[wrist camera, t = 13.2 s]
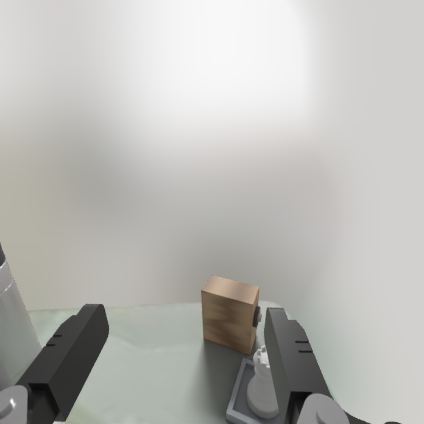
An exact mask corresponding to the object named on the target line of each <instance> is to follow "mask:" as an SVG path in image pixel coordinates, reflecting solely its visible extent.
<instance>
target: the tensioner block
mask: <svg viewBox="0 0 424 424" xmlns="http://www.w3.org/2000/svg"><path fill="white" fill-rule="evenodd" d="M201 293H202V294H201V295H202V317H203V338H204V339H206V340H209V341H212V342H214V343H217V344H220V345H223V346H225V347H228V348H231V349H234V350H236V351H239V352H242V353H245V354H247V355H251V351H252V348H253V344H254V341H255V337H256V329H257V326H258V322H261V317H262V314H261V313H260V307H259V306H258V297H259V287H258V286H254V285H250V284H246V283H241V282H237V281H233V280H229V279H225V278H221V277H217V276H213V275H211V277H210V278H209V280H208V281H207V283H206V284H205V286H204V287H203V288H202V290H201Z"/></svg>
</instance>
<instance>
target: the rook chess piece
mask: <svg viewBox="0 0 424 424" xmlns="http://www.w3.org/2000/svg"><path fill="white" fill-rule="evenodd" d="M253 363H254V365H255V368H254V371H255V373H256V374H255V376H254V377H253V378H252V379H251V380H250V382H249V384H248V386H247V393H246V399H247V402H248V405H249V407H250V408H251V410H252V411H253V412H254V413H255V414H256V415H258V416H259V417H261V418H266V419H270V418H274V417H275V416H277V415H278V414H279V409H278V404H277V399H276V394H275V389H274V385H273V380H272V375H271V370H270V365H269V360H268V355H267V350H266V346H261V349H259V348H258V350H257V351H256V352H255V354H254V356H253Z"/></svg>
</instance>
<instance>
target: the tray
mask: <svg viewBox="0 0 424 424" xmlns="http://www.w3.org/2000/svg"><path fill="white" fill-rule="evenodd" d="M254 368H255V365H254V363H253V361H251V360H249V359H246V358H243V359H242V362H241V366H240V369H239V372H238V376H237V379H236V382H235V385H234V389H233V392H232V395H231V398H230V402H229V405H228V408H227V411H226V421H228V422H230V423H232V424H282V423H281V419H280V414H278V415H277V416H275V417H274V418H270V419H266V418H261V417H259V416H258V415H256V414H255V413H254V412H253V411H252V410H251V408H250V407H249V405H248V402H247V399H246V393H247V386H248V384H249V382H250V380H251V379H252V378H253V377H254V376H255V374H256V373H255V371H254Z"/></svg>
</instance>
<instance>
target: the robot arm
mask: <svg viewBox="0 0 424 424" xmlns="http://www.w3.org/2000/svg"><path fill="white" fill-rule="evenodd" d="M108 334H109V325H108V321H107V317H106V313H105V309H104V306H103V305H102V304H85V305H84V306H83V307H82V309H81V310H80V311H79V313H78V314H77V315H72V316H71V317H70V318H69V319H67V320H66V321H65V322H64V323H62V324H61V325H60V327H59V328H58V329H57V331H56V332H55V333H54V335H53V337H51V338H50V340H49V341H48V342H47V344H46V346H44V348H43V349H42V348H41V345H40V343H39V340H38V338H37V335H36V333H35V330H34V327H33V325H32V322H31V320H30V317H29V315H28V312H27V310H26V308H25V305H24V302H23V300H22V298H21V295H20V293H19V290H18V288H17V285H16V282H15V280H14V278H13V275H12V273H11V271H10V268H9V265H8V263H7V261H6V258H5V255H4V253H3V250H2V247H1V244H0V424H53V422H54V421H62V422H65V421H66V419H67V417H68V415H69V413H70V411H71V409H72V407H73V405H74V403H75V401H76V399H77V397H78V395H79V393H80V391H81V390H82V388H83V386H84V384H85V382H86V380H87V378H88V376H89V374H90V372H91V370H92V368H93V366H94V364H95V362H96V360H97V358H98V356H99V354H100V352H101V350H102V348H103V346H104V344H105V342H106V340H107V338H108ZM264 338H265V346H266V350H267V355H268V360H269V365H270V370H271V375H272V380H273V385H274V389H275V394H276V399H277V404H278V409H279V414H280V419H281V423H282V424H370V423H367V422H365V421H362V420H360V419H357V418H355V417H353V416H351V415H350V414H348V413H347V412H345V411H344V410H343V409H342V408H341V407H340V405H339V404H338V403H337V402H335V400H334V399H333V398H332V396H331V394H330V392H329V390H328V387H327V385H326V382H325V380H324V378H323V375H322V373H321V370H320V368H319V365H318V363H317V360H316V358H315V355H314V354H313V350H312V348H311V345H310V343H309V340H308V338H307V336H306V333H305V331H304V329H303V328H302V327H301V326H300V324H299V323H298V322H297V321H296V320H288V319H287V316H286V313H285V310H284V308H267V311H266V319H265V328H264ZM385 424H400V423H398V422H386V423H385Z"/></svg>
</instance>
